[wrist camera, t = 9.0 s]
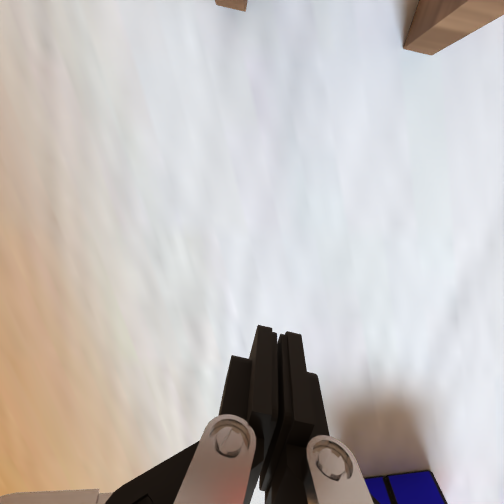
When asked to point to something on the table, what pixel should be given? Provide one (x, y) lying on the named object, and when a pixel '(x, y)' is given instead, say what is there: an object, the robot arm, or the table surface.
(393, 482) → the puzzle cube
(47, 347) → the table surface
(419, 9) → the bridge
